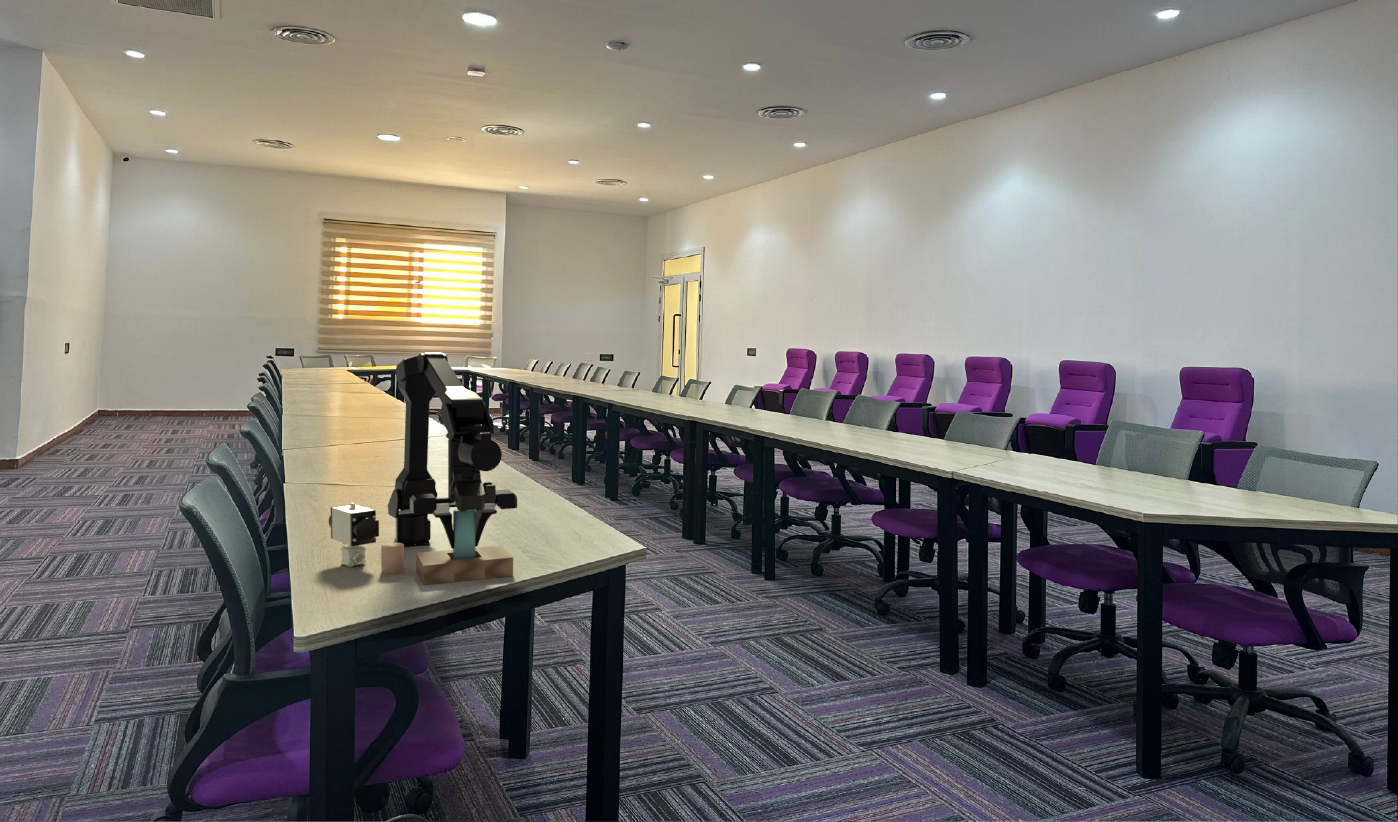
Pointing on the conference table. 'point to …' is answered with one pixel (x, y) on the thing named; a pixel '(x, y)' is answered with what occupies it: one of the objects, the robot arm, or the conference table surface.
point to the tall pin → (464, 534)
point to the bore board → (463, 565)
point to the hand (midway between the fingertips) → (464, 547)
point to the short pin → (392, 558)
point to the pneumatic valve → (353, 531)
